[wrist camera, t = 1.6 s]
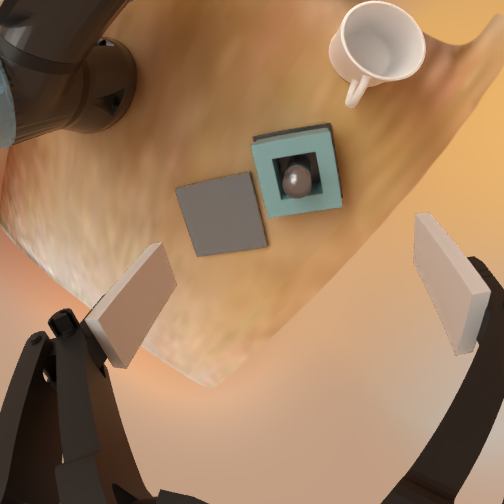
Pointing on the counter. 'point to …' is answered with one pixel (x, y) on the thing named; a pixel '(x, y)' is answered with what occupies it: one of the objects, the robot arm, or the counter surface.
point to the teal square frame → (271, 180)
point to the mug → (376, 47)
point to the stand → (300, 165)
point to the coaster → (222, 215)
